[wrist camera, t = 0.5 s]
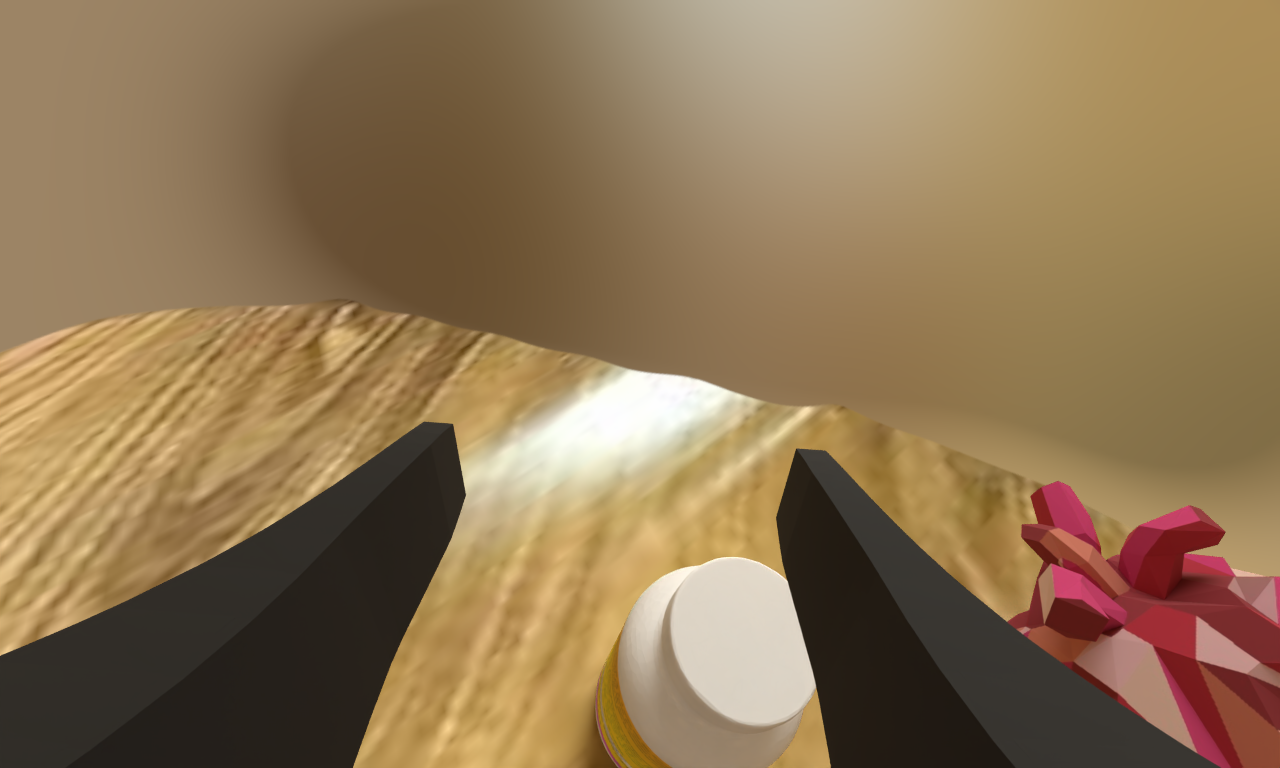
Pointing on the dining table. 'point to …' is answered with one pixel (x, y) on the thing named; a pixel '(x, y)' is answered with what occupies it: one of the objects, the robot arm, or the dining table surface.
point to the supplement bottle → (706, 671)
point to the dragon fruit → (1161, 627)
